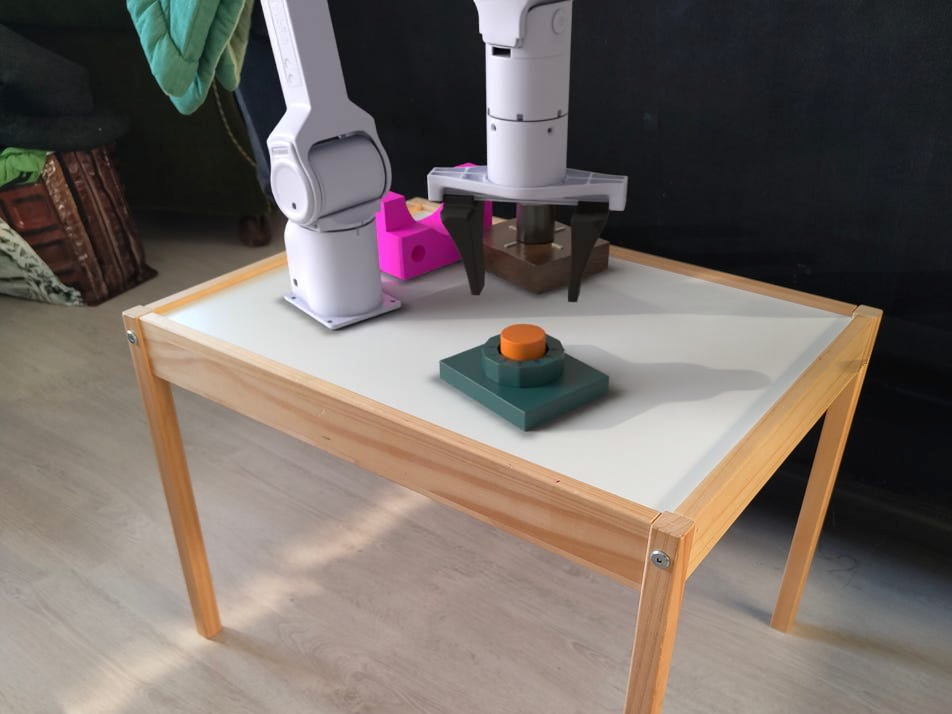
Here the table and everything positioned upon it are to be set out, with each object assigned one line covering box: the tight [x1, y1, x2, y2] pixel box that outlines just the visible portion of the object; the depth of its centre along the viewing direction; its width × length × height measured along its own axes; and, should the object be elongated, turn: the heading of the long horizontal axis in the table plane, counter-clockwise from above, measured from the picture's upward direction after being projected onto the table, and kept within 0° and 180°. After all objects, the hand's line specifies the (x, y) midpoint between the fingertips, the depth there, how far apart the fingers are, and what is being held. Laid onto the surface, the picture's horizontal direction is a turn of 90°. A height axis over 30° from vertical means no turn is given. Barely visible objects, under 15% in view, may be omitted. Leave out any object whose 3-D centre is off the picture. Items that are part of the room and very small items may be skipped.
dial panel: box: [483, 217, 611, 295], centre depth 95 cm, size 12×10×3 cm
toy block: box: [375, 162, 493, 281], centre depth 96 cm, size 15×6×8 cm, turn 133°
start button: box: [500, 323, 547, 361], centre depth 72 cm, size 4×4×2 cm
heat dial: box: [515, 202, 557, 244], centre depth 92 cm, size 4×4×4 cm
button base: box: [439, 333, 610, 432], centre depth 73 cm, size 11×9×4 cm
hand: (525, 293), depth 70 cm, fingers open, 7 cm apart
